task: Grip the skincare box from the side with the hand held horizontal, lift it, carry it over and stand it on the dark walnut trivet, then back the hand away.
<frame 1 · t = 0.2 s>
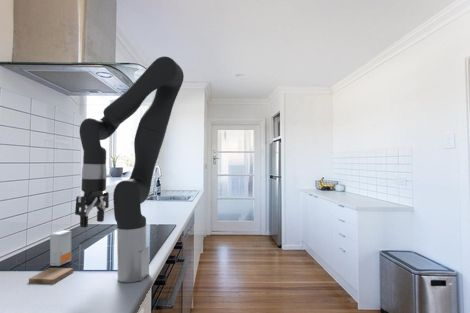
hand: (92, 224, 95), 18 cm above the counter, tool pointing down, fingers open, 8 cm apart
walnut trivet: (51, 276, 95), on the counter
skincare box: (61, 263, 107), on the counter
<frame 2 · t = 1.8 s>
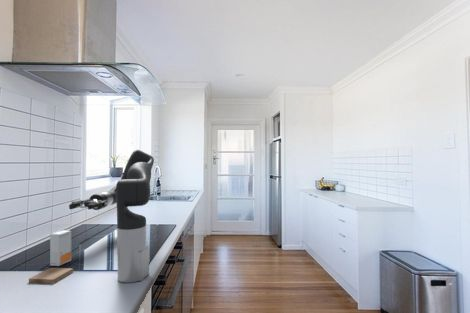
hand: (79, 206, 119), 20 cm above the counter, tool horizontal, fingers open, 8 cm apart
nothing on the counter moved.
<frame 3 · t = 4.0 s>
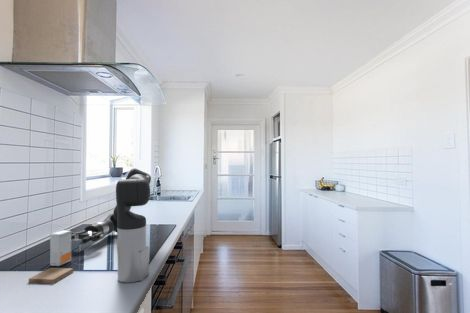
hand: (73, 241, 114), 6 cm above the counter, tool horizontal, fingers open, 8 cm apart
nothing on the counter moved.
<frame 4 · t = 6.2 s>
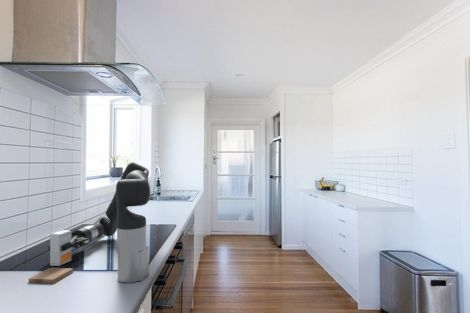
hand: (55, 248, 105), 7 cm above the counter, tool horizontal, fingers closed on skincare box, 4 cm apart
skincare box: (61, 263, 107), on the counter, touching gripper
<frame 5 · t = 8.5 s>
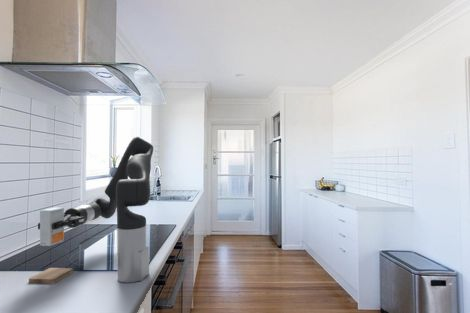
hand: (46, 226, 93), 18 cm above the counter, tool horizontal, fingers closed on skincare box, 4 cm apart
skincare box: (52, 243, 96), point 11 cm above the counter, touching gripper
when the fingers open (8 cm above the counter, at t = 10.8 s): skincare box stays where it is, resting on walnut trivet.
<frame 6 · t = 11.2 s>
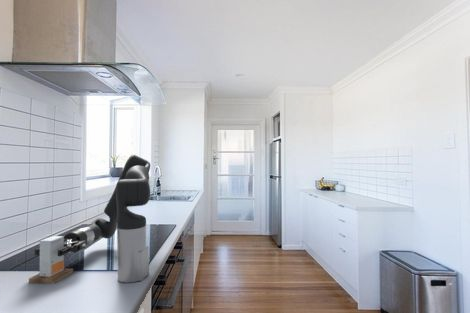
hand: (47, 253, 93), 9 cm above the counter, tool horizontal, fingers open, 8 cm apart
skincare box: (52, 273, 95), point 1 cm above the counter, touching walnut trivet
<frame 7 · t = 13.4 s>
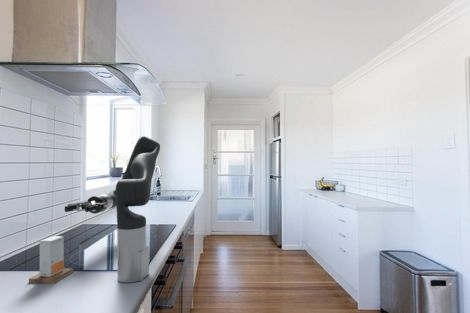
hand: (75, 209, 107), 21 cm above the counter, tool horizontal, fingers open, 8 cm apart
nothing on the counter moved.
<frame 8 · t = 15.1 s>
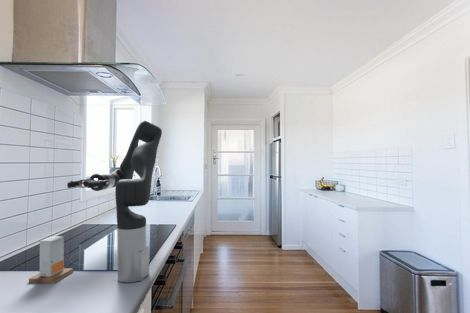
hand: (78, 185, 109), 30 cm above the counter, tool horizontal, fingers open, 8 cm apart
nothing on the counter moved.
at the end: skincare box inside the target area on the walnut trivet (0.1 cm from its centre), point 1.0 cm above the walnut trivet's base; skincare box tilted 0°; the gripper is holding nothing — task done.
